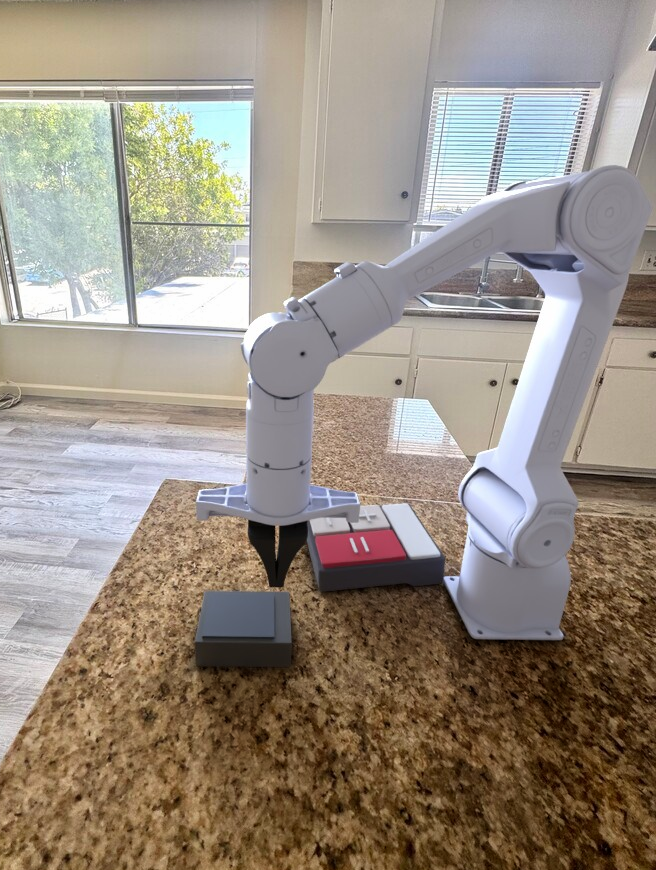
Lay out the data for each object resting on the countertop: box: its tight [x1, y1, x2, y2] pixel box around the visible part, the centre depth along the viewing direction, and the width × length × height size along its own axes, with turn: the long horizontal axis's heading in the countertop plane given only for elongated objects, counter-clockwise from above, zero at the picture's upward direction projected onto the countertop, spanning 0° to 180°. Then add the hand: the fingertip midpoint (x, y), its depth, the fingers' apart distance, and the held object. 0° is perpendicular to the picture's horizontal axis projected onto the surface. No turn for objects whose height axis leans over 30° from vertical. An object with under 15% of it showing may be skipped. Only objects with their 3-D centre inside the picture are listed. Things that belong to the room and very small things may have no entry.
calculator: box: [306, 502, 446, 592], centre depth 53 cm, size 11×4×15 cm
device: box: [194, 590, 293, 668], centre depth 42 cm, size 3×6×9 cm
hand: (276, 579), depth 40 cm, fingers closed
